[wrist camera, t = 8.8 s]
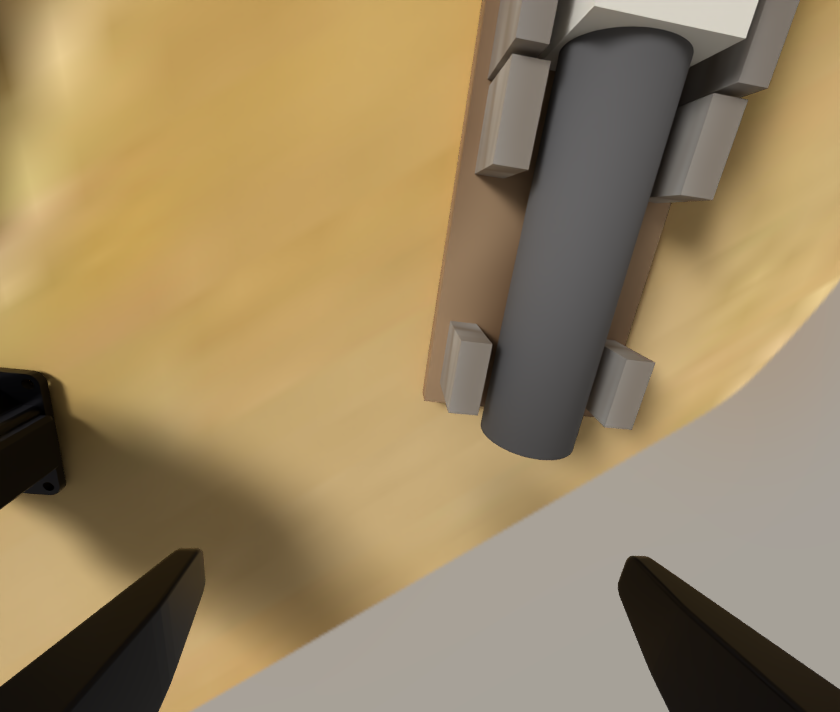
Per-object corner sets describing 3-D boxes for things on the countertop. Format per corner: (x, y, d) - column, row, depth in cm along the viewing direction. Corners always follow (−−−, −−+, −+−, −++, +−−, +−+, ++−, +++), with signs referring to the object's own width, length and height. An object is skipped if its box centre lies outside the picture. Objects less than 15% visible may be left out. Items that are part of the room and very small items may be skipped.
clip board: (422, 392, 19) (430, 439, 15) (511, -191, 13) (570, -396, 9) (592, 408, 20) (644, 458, 16) (758, -127, 14) (922, -281, 9)
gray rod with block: (555, 416, 19) (599, 470, 15) (468, 408, 19) (490, 461, 15) (688, -60, 13) (821, -185, 9) (566, -89, 13) (648, -234, 9)
